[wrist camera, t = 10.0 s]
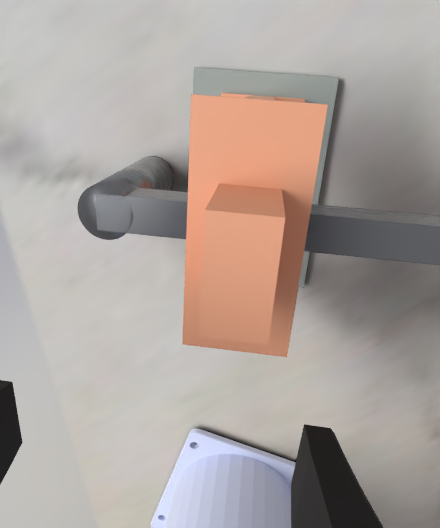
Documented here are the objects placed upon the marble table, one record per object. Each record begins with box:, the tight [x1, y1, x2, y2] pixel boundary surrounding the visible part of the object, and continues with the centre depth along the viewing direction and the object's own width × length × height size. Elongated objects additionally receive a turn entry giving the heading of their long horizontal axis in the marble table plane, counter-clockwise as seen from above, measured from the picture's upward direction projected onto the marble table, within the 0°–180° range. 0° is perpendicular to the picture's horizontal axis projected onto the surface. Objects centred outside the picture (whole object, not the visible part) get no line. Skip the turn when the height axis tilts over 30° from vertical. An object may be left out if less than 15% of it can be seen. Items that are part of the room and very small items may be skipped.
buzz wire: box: [78, 156, 440, 265], centre depth 16 cm, size 8×24×6 cm, turn 71°
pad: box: [193, 67, 339, 288], centre depth 18 cm, size 6×9×1 cm, turn 176°
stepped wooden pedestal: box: [183, 93, 328, 357], centre depth 13 cm, size 3×7×10 cm, turn 176°
